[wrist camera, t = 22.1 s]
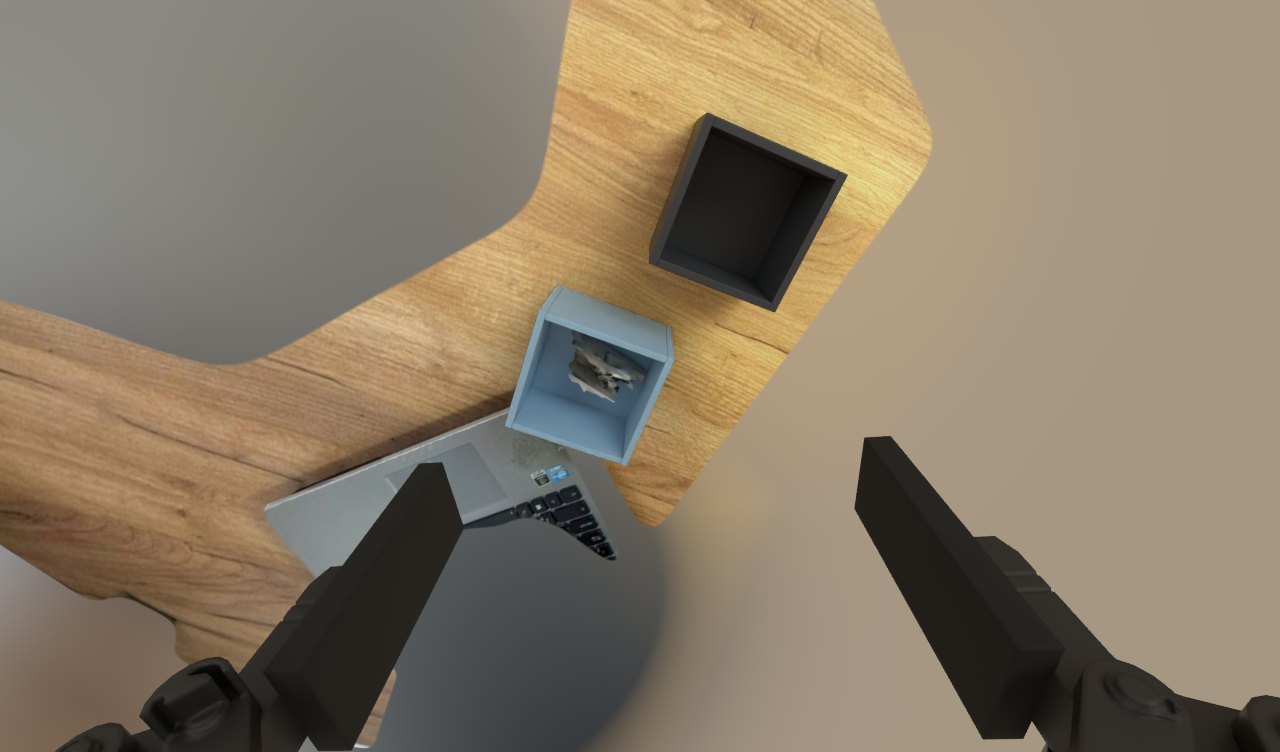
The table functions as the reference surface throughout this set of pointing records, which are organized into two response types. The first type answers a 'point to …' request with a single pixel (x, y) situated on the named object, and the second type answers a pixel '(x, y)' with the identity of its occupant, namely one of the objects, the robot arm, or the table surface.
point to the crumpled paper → (601, 367)
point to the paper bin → (561, 404)
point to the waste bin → (742, 212)
